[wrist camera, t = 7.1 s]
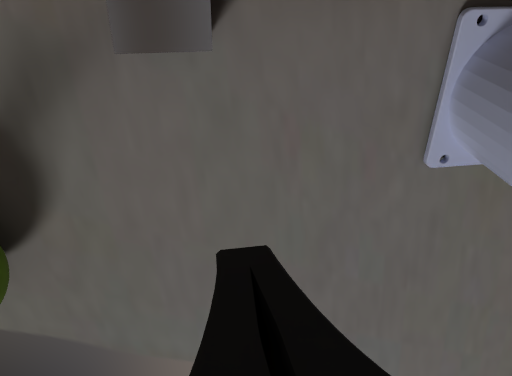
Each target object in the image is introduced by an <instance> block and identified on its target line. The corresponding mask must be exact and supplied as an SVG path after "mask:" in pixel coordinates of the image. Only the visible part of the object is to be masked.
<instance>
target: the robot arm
mask: <svg viewBox="0 0 512 376" xmlns="http://www.w3.org/2000/svg"><path fill="white" fill-rule="evenodd" d="M480 15H483V18H482V20H481V22H480V23H479V24H477V19H478V17H479V16H480ZM443 155H445V157H444V158H443V159H442V160H440V158H441V157H442V156H443ZM424 162H425V164H426V165H427V166H429V167H431V168H437V167H450V166H463V165H476V164H484V165H485V166H486V167H487V168H489V169H490V170H491V171H493V172H494V173H495V174H496V175H498V176H499V177H500V178H502V179H503V180H504V181H505V182H507V183H508V184H509V185H511V186H512V6H511V7H469V8H466V9H465V10H463V11H462V12H461V13H460V15H459V17H458V19H457V24H456V28H455V32H454V36H453V40H452V44H451V48H450V52H449V56H448V60H447V64H446V69H445V73H444V77H443V81H442V85H441V89H440V93H439V97H438V101H437V105H436V110H435V114H434V118H433V122H432V126H431V130H430V134H429V138H428V142H427V146H426V151H425V155H424ZM216 263H217V275H216V283H215V290H214V295H213V299H212V304H211V309H210V313H209V317H208V321H207V324H206V328H205V331H204V334H203V338H202V341H201V344H200V347H199V350H198V353H197V356H196V359H195V362H194V364H193V367H192V370H191V373H190V375H189V376H391V375H389V374H388V373H387V372H385V371H384V370H383V369H382V368H380V367H379V366H378V365H377V364H376V363H374V362H373V361H372V360H371V359H370V358H368V357H367V356H366V355H365V354H364V353H362V352H361V351H360V350H359V349H358V348H357V347H356V346H355V345H353V344H352V343H351V342H350V341H349V340H348V339H347V338H346V337H345V336H344V335H343V334H342V333H341V332H340V331H339V330H338V329H337V328H336V327H334V325H333V324H332V323H331V322H330V321H329V320H328V319H327V318H326V317H325V316H324V315H323V314H322V313H321V312H320V311H319V310H318V309H317V308H316V307H315V305H314V304H313V303H312V302H311V301H310V300H309V299H308V297H307V296H306V295H305V294H304V293H303V292H302V290H301V289H300V288H299V287H298V286H297V285H296V283H295V282H294V281H293V280H292V278H291V277H290V276H289V274H288V273H287V272H286V271H285V269H284V268H283V267H282V265H281V264H280V262H279V261H278V260H277V258H276V257H275V255H274V254H273V252H272V251H271V249H270V248H269V247H268V246H266V245H264V246H255V247H245V248H236V249H226V250H220V251H219V252H218V253H217V254H216Z"/></svg>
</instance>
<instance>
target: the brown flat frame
mask: <svg viewBox="0 0 512 376" xmlns="http://www.w3.org/2000/svg"><path fill="white" fill-rule="evenodd" d="M106 3H107V9H108V16H109V22H110V29H111V35H112V41H113V48H114V54H127V53H161V52H195V51H212V28H211V3H210V0H106Z"/></svg>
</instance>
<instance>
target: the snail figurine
mask: <svg viewBox="0 0 512 376" xmlns="http://www.w3.org/2000/svg"><path fill="white" fill-rule="evenodd" d="M8 283H9V266H8V261H7V258H6V255H5V253H4V251H3V249H2V247H1V246H0V304H1V302H2V300H3V298H4V296H5V294H6V291H7V287H8Z"/></svg>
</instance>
